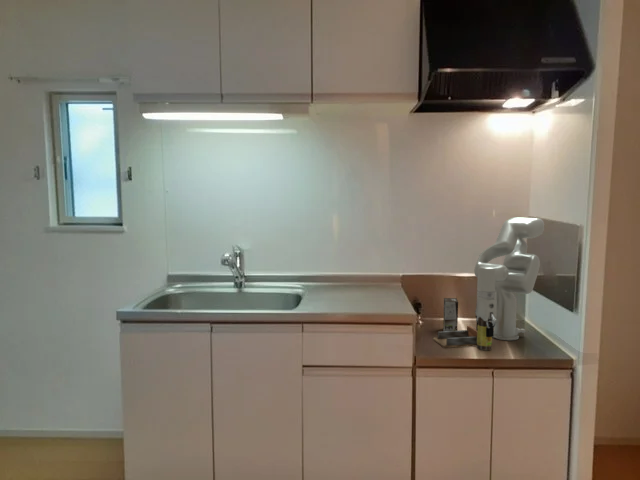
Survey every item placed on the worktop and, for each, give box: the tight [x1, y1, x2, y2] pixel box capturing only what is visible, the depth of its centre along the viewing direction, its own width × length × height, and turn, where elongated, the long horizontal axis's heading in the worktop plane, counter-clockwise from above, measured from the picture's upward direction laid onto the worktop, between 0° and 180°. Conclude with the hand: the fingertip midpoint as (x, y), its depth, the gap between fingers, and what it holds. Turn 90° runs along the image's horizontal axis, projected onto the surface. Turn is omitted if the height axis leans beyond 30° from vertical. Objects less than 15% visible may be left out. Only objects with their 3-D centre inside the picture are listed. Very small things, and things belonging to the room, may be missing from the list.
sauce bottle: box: [476, 317, 493, 351], centre depth 208 cm, size 6×6×20 cm
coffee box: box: [442, 297, 459, 331], centre depth 233 cm, size 9×6×16 cm
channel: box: [432, 325, 477, 349], centre depth 218 cm, size 18×12×6 cm, turn 99°
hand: (484, 333), depth 209 cm, fingers open, 7 cm apart
